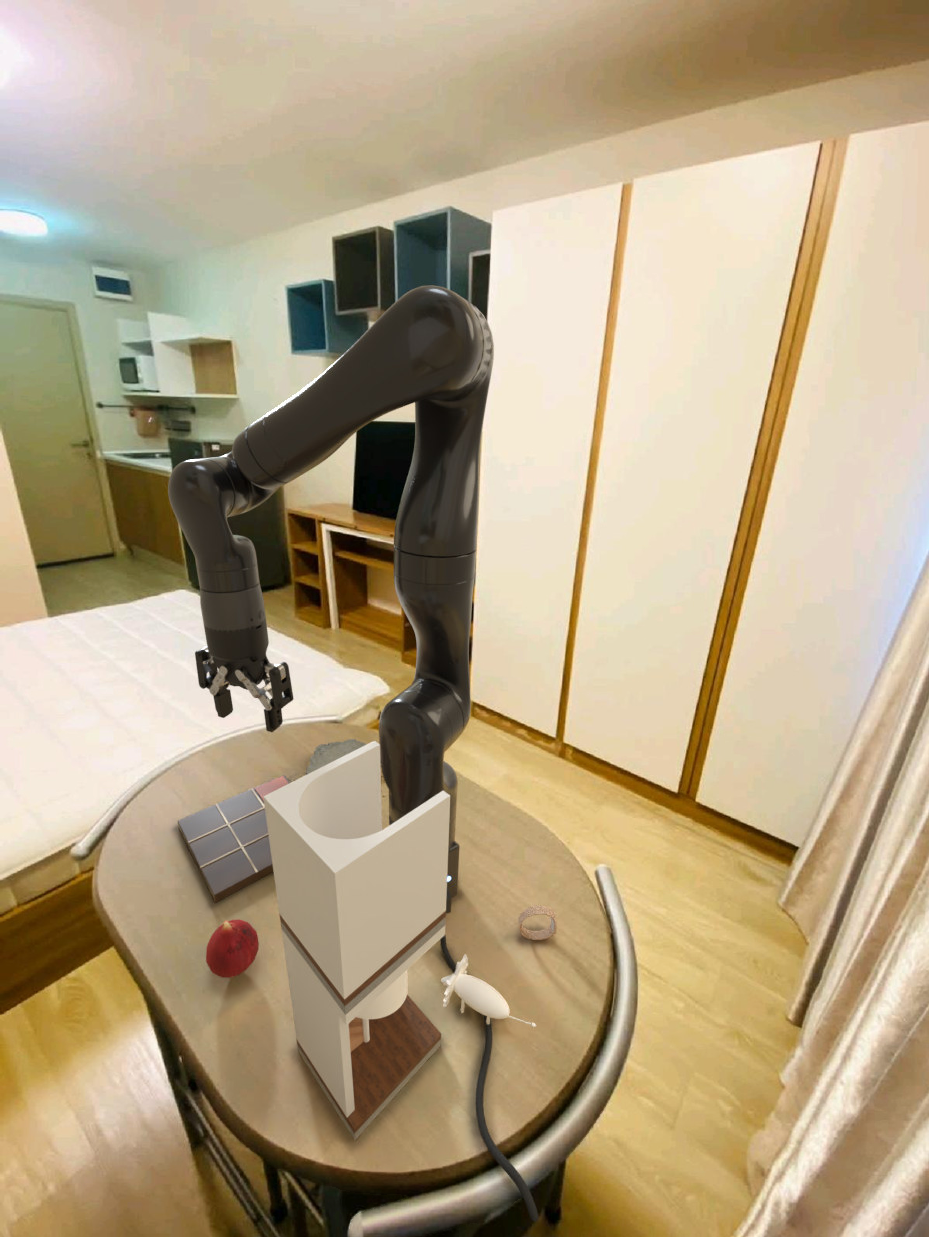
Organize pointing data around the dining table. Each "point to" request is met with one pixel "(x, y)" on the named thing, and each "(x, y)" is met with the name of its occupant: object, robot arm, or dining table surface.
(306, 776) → the white wooden tower stand
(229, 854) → the grid board
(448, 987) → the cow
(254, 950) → the onion
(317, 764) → the rock
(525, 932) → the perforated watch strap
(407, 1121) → the dining table surface
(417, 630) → the robot arm
